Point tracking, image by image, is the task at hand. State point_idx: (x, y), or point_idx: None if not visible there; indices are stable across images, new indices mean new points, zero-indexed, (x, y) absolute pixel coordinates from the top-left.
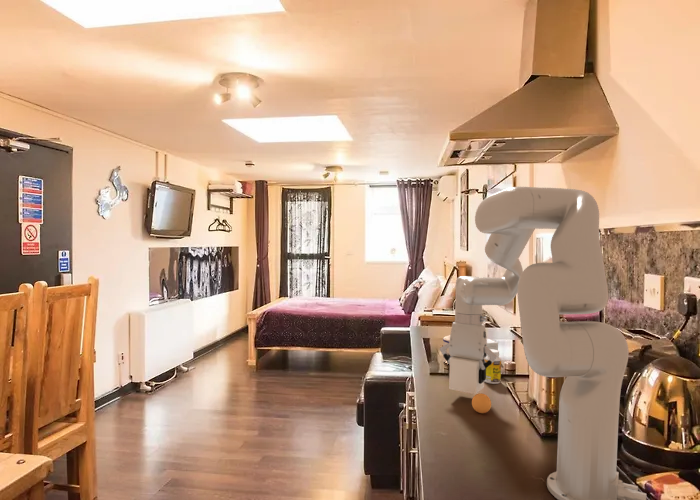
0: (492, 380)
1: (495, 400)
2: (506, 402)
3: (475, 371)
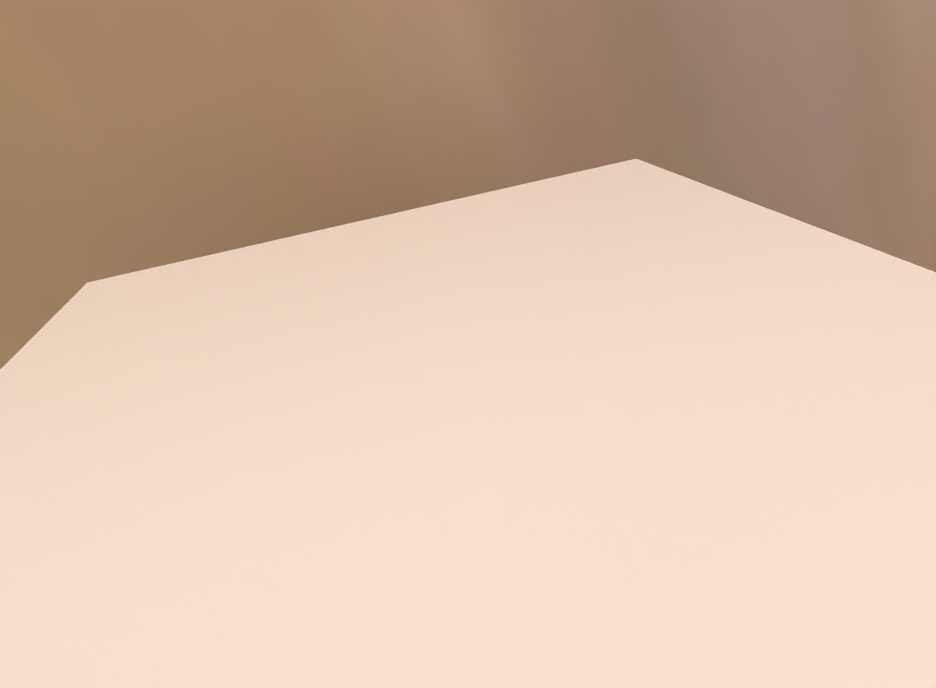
0: None
1: (737, 82)
2: (884, 31)
3: None
